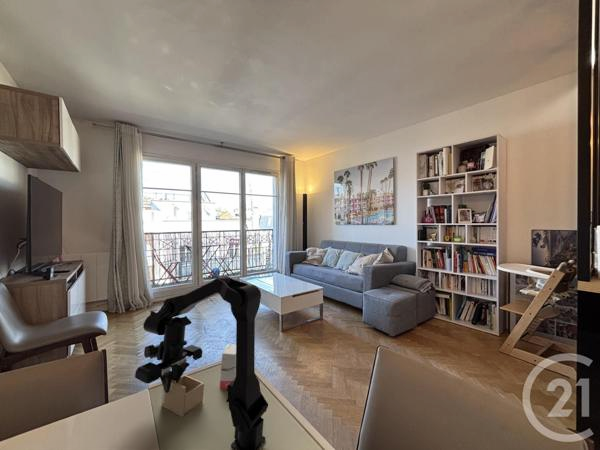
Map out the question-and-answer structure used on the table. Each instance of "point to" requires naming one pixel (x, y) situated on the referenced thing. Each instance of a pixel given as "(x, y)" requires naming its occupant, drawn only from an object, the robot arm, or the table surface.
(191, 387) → the carton
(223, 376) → the ink box
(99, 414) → the table surface
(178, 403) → the end flap
